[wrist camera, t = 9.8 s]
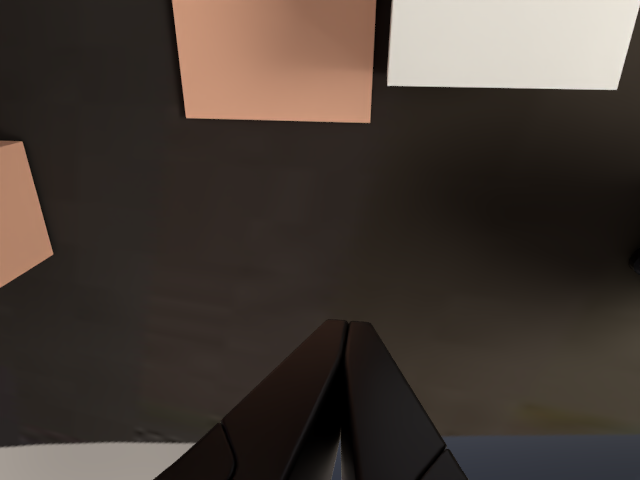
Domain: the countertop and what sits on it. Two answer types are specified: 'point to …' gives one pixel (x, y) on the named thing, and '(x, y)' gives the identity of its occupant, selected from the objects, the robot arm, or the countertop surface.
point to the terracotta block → (19, 215)
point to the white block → (510, 43)
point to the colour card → (276, 59)
